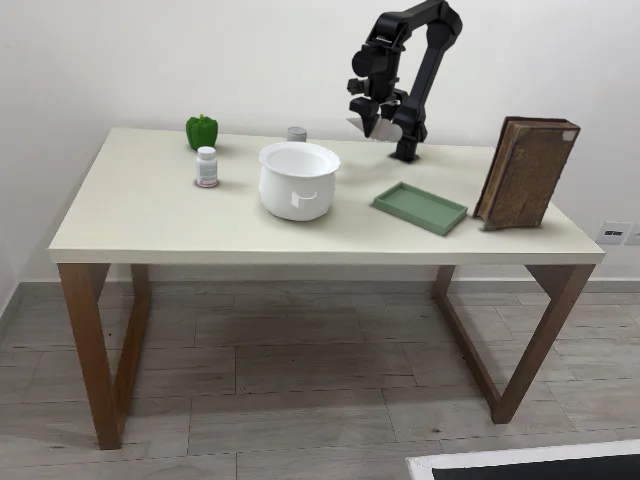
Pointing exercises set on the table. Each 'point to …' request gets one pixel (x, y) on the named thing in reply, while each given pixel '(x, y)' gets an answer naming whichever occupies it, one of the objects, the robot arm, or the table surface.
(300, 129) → the beverage can
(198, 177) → the pill bottle
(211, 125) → the bell pepper
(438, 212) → the tray
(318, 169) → the pot
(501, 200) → the book
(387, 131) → the ice cream cone
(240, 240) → the table surface
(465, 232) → the table surface
